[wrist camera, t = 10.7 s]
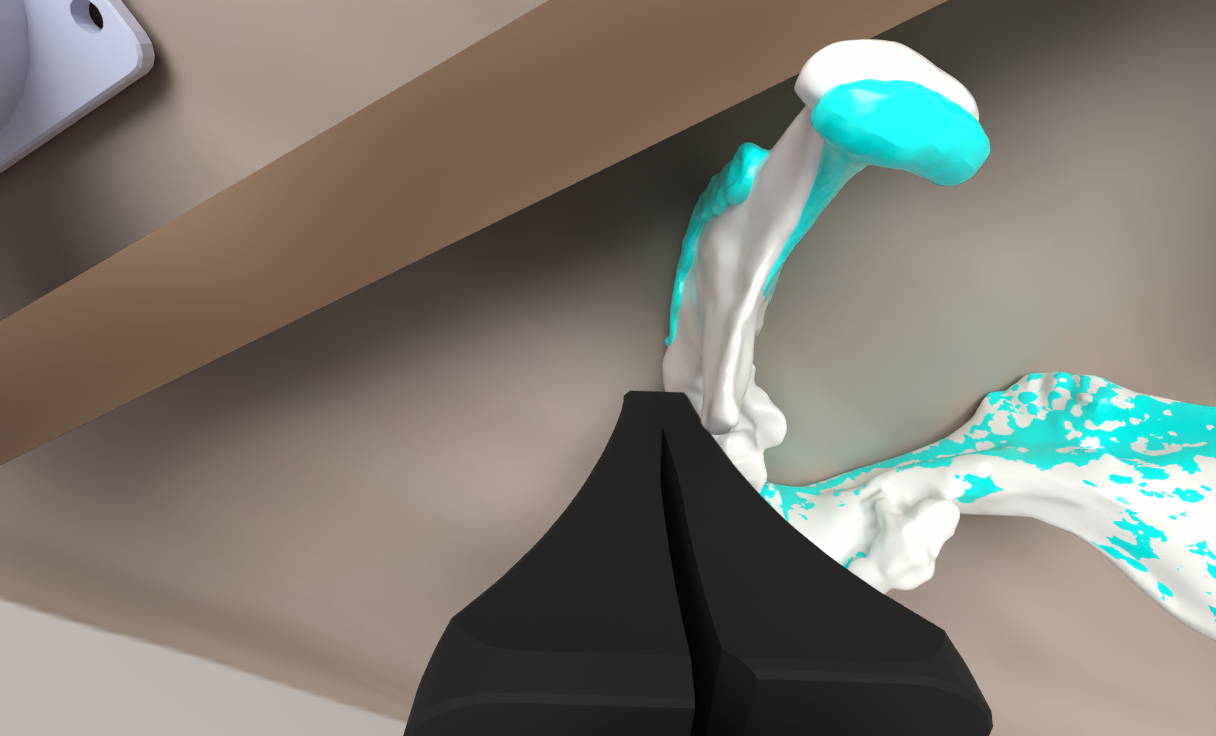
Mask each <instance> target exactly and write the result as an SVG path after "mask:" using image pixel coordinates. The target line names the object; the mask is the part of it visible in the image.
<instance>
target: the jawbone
mask: <svg viewBox="0 0 1216 736" xmlns="http://www.w3.org/2000/svg"><path fill="white" fill-rule="evenodd" d="M794 90H795V92H796V94H797V95H798V96H799V98H800V99H801V100H802V101H803V102H804V103H805V104H806V106H805V107H804V109H803V110H802V111H801V112H800V113H799V114H798V116H797V117H796V118H795V119H794V121H793V122H792V123H791V124H790V126H789V127H788V128H787V129H786V131H785V132H784V134H783V135H782V137H781V138H780V139H779V141H778V142H777V143H776V144H775V146H774V147H773V148H772V149H767V150H766V149H762V148H761V147H759V146H758V145H756V144H754V143H749V142H745V143H742V144H741V145H740V146H739V147H738V150H737V152H736V153H735V156H734V158H733V160H731V161H729V162H728V163H727V164H726V165H725V166H724V167H723V168H722V170H721V172H720V173H717V174H715V175H714V176H712V178H711V180H710V182H709V184H708V186H707V188H706V190H705V191H704V192H703V193H702V194H701V195H700V197H699V199H698V202H697V204H696V205H695V207H694V210H693V213H692V216H691V218H690V222H689V224H688V228H687V231H686V234H685V236H684V239H683V241H682V251H681V255H680V258H679V262H678V265H677V270H676V275H675V282H674V289H673V293H672V300H671V306H670V335H669V336H668V337H667V338H666V340H665V344H666V345H667V351H666V353H665V356H664V359H663V366H662V369H663V381H664V388H665V392H684V393H685V394H686V395H687V397H688V398H689V400H690V401H691V403H692V405H693V407H694V408H695V410H696V412H697V413H698V415H699V416H700V418H701V424H702V426H703V427H704V428H705V429H706V430H707V431H708V432H709V433H711V435H712V436H713V437H714V439H715V440H716V442H717V443H718V444H719V446H720V447H721V448H722V449H723V451H724V452H725V453H726V455H727V456H728V457H729V459H730V460H731V461H732V463H733V464H734V465H735V466H736V467H737V469H738V470H739V471H740V472H741V473H742V475H743V476H744V477H745V478H746V479H747V480H748V482H749V483H750V484H751V485H752V486H753V487H754V488H755V489H756V491H757V492H758V493H759V494H760V495H761V496H762V497H763V498H764V499H765V500H766V501H767V502H768V503H769V504H770V505H771V506H772V507H773V508H774V509H775V510H776V511H777V512H778V513H779V514H780V515H781V516H782V517H783V518H784V519H785V520H786V521H788V522H789V523H790V524H791V525H792V526H793V527H794V528H795V529H797V530H798V531H799V532H800V533H801V534H803V535H804V536H805V537H806V538H808V539H809V540H810V541H811V542H813V543H814V544H815V545H816V546H817V547H819V548H820V549H821V550H822V551H824V552H825V553H826V554H827V555H829V556H830V557H831V558H833V559H834V560H835V561H837V562H838V563H839V564H841V565H842V566H843V567H845V568H846V569H848V570H849V571H851V572H852V573H853V574H855V575H856V576H858V577H859V578H861V579H862V580H864V581H865V582H867V583H868V584H869V585H871V586H872V587H874V588H875V589H877V590H878V591H880V592H881V593H883V594H885V593H887V592H888V591H889V590H891V589H897V590H906V591H908V590H912V589H915V588H917V587H918V586H920V585H921V584H923V583H924V582H926V581H928V580H929V579H931V577H932V576H933V574H934V570H935V560H936V558H937V556H938V554H939V552H940V549H941V548H942V546H943V544H944V543H945V542H946V541H947V540H948V539H949V538H950V537H951V536H952V535H954V533H955V528H956V527H957V525H958V522H959V518H960V514H977V515H1001V516H1024V517H1030V518H1034V519H1037V520H1040V521H1043V522H1045V523H1047V524H1050V525H1053V526H1055V527H1058V528H1060V529H1063V530H1066V531H1068V532H1070V533H1072V534H1074V535H1076V536H1077V537H1079V538H1080V539H1082V540H1083V541H1085V542H1086V543H1088V544H1089V545H1091V546H1092V547H1093V548H1095V549H1096V550H1097V551H1098V552H1100V553H1101V554H1102V555H1104V556H1105V557H1106V558H1107V559H1109V560H1110V561H1111V562H1112V563H1113V564H1114V565H1115V566H1116V567H1117V568H1118V569H1119V570H1120V571H1121V572H1122V573H1123V574H1124V575H1125V576H1126V577H1127V578H1129V579H1130V580H1131V581H1132V582H1133V583H1134V584H1135V585H1136V586H1138V587H1139V588H1140V589H1141V590H1142V591H1143V592H1145V593H1146V594H1147V595H1148V596H1149V597H1150V598H1151V599H1152V600H1153V601H1154V602H1156V603H1157V604H1158V605H1159V606H1160V607H1161V608H1163V609H1164V610H1165V611H1166V612H1168V613H1169V614H1170V615H1171V616H1173V617H1174V618H1176V619H1177V620H1179V621H1180V622H1182V623H1184V624H1185V625H1187V626H1188V627H1190V628H1192V629H1193V630H1195V631H1197V632H1199V633H1200V634H1202V635H1204V636H1206V637H1208V638H1210V639H1212V640H1215V641H1216V407H1212V406H1203V405H1197V404H1192V403H1186V402H1181V401H1176V400H1171V399H1166V398H1161V397H1157V396H1152V395H1147V394H1142V393H1138V392H1135V391H1132V390H1129V389H1126V388H1123V387H1121V386H1119V385H1117V384H1115V383H1112V382H1110V381H1108V380H1106V379H1103V378H1101V377H1098V376H1093V375H1075V374H1069V373H1066V372H1060V371H1059V372H1050V373H1030V374H1027V375H1025V376H1023V377H1022V378H1021V379H1020V380H1019V381H1018V382H1017V383H1015V384H1014V385H1012V386H1011V387H1009V388H1008V389H1007V390H1005V391H999V392H990V393H989V394H987V396H986V397H985V398H984V399H983V400H982V402H981V404H980V406H979V407H978V409H977V410H976V412H975V414H974V416H973V417H972V418H971V419H970V420H969V421H968V422H966V423H965V424H964V425H963V426H961V427H960V428H959V429H957V430H956V431H954V432H953V433H952V434H950V435H949V436H947V437H945V438H943V439H941V440H939V441H936V442H934V443H932V444H929V445H927V446H924V447H921V448H918V449H916V450H914V451H911V452H908V453H905V454H902V455H900V456H897V457H894V458H891V459H887V460H884V461H881V462H878V463H874V464H871V465H868V466H865V467H861V468H858V469H854V470H852V471H849V472H846V473H843V474H841V475H838V476H835V477H833V478H830V479H827V480H824V481H821V482H817V483H813V484H810V485H806V486H800V487H796V486H786V485H780V484H775V483H772V482H769V481H768V480H767V471H766V467H765V462H764V450H765V449H767V448H771V447H776V446H778V445H780V444H781V442H782V441H783V439H784V437H785V433H786V430H787V424H786V420H785V417H784V415H783V413H782V412H781V411H780V410H779V409H778V408H777V407H776V406H775V405H774V404H773V403H772V402H771V400H770V398H769V397H768V395H767V394H766V393H765V391H764V390H762V389H761V388H760V387H758V386H757V385H756V384H755V381H754V379H755V371H756V367H755V365H754V364H753V355H754V341H755V336H757V335H758V334H759V333H760V332H761V329H762V326H763V323H764V316H765V312H766V308H767V306H768V305H769V303H770V302H771V298H772V295H773V293H774V290H775V288H776V285H777V281H778V279H779V276H780V272H781V269H782V267H783V264H784V262H785V260H786V259H787V257H788V256H789V255H790V253H791V252H792V250H793V249H794V248H795V246H796V245H797V244H798V243H799V242H800V240H801V239H802V238H803V236H804V235H805V234H806V233H807V232H808V230H809V229H810V228H811V227H812V225H813V224H814V223H815V222H816V220H817V218H818V217H819V216H820V214H821V213H822V212H823V211H824V209H825V208H826V207H827V206H828V204H829V203H830V202H831V201H832V199H833V198H834V197H835V196H836V195H837V193H838V192H839V191H840V190H841V189H842V187H843V186H844V185H845V184H846V183H847V182H848V181H849V180H850V179H851V178H852V177H853V176H854V175H855V174H857V173H858V172H859V171H861V170H862V169H864V168H865V167H867V166H869V165H874V166H878V167H883V168H889V169H898V170H903V171H907V172H910V173H912V174H914V175H916V176H919V177H922V178H925V179H928V180H929V181H931V182H933V183H934V184H938V185H945V186H957V185H959V184H961V183H963V182H966V181H967V180H969V179H970V178H971V177H973V176H974V175H975V174H976V172H977V171H978V170H979V169H980V167H981V166H982V165H983V163H984V162H985V161H986V159H987V157H988V155H989V153H990V151H991V150H990V143H989V139H988V137H987V135H986V134H985V132H984V130H983V128H982V126H981V125H980V123H979V112H978V107H977V105H976V102H975V99H974V98H973V96H972V95H971V94H970V92H969V91H968V90H967V89H966V88H965V87H964V86H963V85H962V84H961V83H960V82H959V81H958V80H956V79H955V78H954V77H952V76H951V75H949V74H947V73H946V72H944V71H943V70H941V69H940V68H938V67H936V66H935V65H934V64H933V63H931V62H930V61H929V60H928V59H926V58H925V57H923V56H922V55H921V54H919V53H917V52H916V51H914V50H912V49H910V48H909V47H907V46H905V45H903V44H901V43H897V42H893V41H886V40H874V39H860V40H847V41H840V42H836V43H833V44H830V45H828V46H826V47H825V48H823V49H821V50H820V51H818V52H817V53H815V54H814V55H813V56H812V57H811V58H810V59H809V60H808V61H807V62H806V63H805V64H804V66H803V67H802V69H801V71H800V74H799V76H798V78H797V81H796V83H795V87H794Z"/></svg>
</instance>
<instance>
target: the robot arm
mask: <svg viewBox="0 0 1216 736" xmlns="http://www.w3.org/2000/svg"><path fill="white" fill-rule="evenodd" d="M91 2H92V3H93V4H94V5H95V6H96V7H97V8H98V10H99V11H100V13H101V15H102V17H103V28H102V30H101V29H100V28H99V27H98V26H96V25H95V24H94V22H93V20H92V18H91V17H90V15H89V4H90V3H91ZM154 58H155V54H154V50H153V46H152V43H151V41H150V39H149V37H148V36H147V34H146V32H145V31H144V29H143V28H142V27H141V26H140V24H139V23H138V22H137V20H136V19H135V18H134V16H133V15H132V14H131V12H130V11H129V10H128V9H127V7H126V6H125V5H124V3H123V2H122V1H121V0H0V173H2V172H3V171H5V170H6V169H8V168H9V167H11V166H12V165H14V164H15V163H16V162H18V161H19V160H21V159H22V158H24V157H25V156H27V155H28V154H30V153H31V152H33V151H34V150H36V149H37V148H38V147H40V146H41V145H43V144H44V143H46V142H47V141H49V140H50V139H52V138H53V137H55V136H56V135H58V134H59V133H60V132H62V131H63V130H65V129H66V128H68V127H69V126H71V125H72V124H74V123H75V122H77V121H78V120H80V119H81V118H82V117H84V116H85V115H87V114H88V113H90V112H91V111H93V110H94V109H96V108H97V107H99V106H100V105H102V104H103V103H104V102H106V101H107V100H109V99H110V98H112V97H113V96H115V95H116V94H118V93H119V92H121V91H122V90H124V89H125V88H126V87H128V86H129V85H131V84H132V83H134V82H135V81H137V80H138V79H140V78H141V77H143V76H144V75H146V74H147V73H148V72H149V71H150V69H151V68H152V67H153V65H154ZM992 728H993V722H992V713H991V710H990V708H989V706H988V704H987V702H986V700H985V698H984V696H983V695H982V693H981V691H980V689H979V687H978V685H977V683H976V681H975V679H974V678H973V676H972V674H971V672H970V670H969V669H968V667H967V665H966V663H965V662H964V660H963V659H962V657H961V656H960V654H959V653H958V651H957V650H956V648H955V647H954V645H953V644H952V642H951V640H950V639H949V637H948V636H947V634H946V632H945V631H944V630H943V629H941V628H939V627H938V626H936V625H934V624H933V623H931V622H929V621H928V620H926V619H924V618H923V617H921V616H919V615H918V614H916V613H914V612H913V611H911V610H909V609H908V608H906V607H904V606H903V605H901V604H899V603H898V602H896V601H894V600H893V599H891V598H889V597H888V596H886V595H884V594H883V593H881V592H880V591H878V590H877V589H875V588H874V587H872V586H871V585H869V584H868V583H867V582H865V581H864V580H862V579H861V578H859V577H858V576H856V575H855V574H853V573H852V572H851V571H849V570H848V569H846V568H845V567H843V566H842V565H841V564H839V563H838V562H837V561H835V560H834V559H833V558H831V557H830V556H829V555H827V554H826V553H825V552H824V551H822V550H821V549H820V548H819V547H817V546H816V545H815V544H814V543H813V542H811V541H810V540H809V539H808V538H806V537H805V536H804V535H803V534H801V533H800V532H799V531H798V530H797V529H795V528H794V527H793V526H792V525H791V524H790V523H789V522H788V521H786V520H785V519H784V518H783V517H782V516H781V515H780V514H779V513H778V512H777V511H776V510H775V509H774V508H773V507H772V506H771V505H770V504H769V503H768V502H767V501H766V500H765V499H764V498H763V497H762V496H761V495H760V494H759V493H758V492H757V491H756V489H755V488H754V487H753V486H752V485H751V484H750V483H749V482H748V480H747V479H746V478H745V477H744V476H743V475H742V473H741V472H740V471H739V470H738V469H737V467H736V466H735V465H734V464H733V463H732V461H731V460H730V459H729V457H728V456H727V455H726V453H725V452H724V451H723V449H722V448H721V447H720V446H719V444H718V443H717V442H716V440H715V439H714V437H713V436H712V435H711V433H709V432H708V431H707V430H706V429H705V428H704V427H703V426H702V424H701V418H700V416H699V415H698V413H697V412H696V410H695V408H694V407H693V405H692V403H691V401H690V400H689V398H688V397H687V395H686V394H685V393H684V392H651V391H629V392H628V393H627V394H625V395H624V402H623V406H622V410H621V413H620V416H619V419H618V421H617V424H616V426H615V429H614V431H613V433H612V435H611V437H610V439H609V441H608V444H607V446H606V448H605V450H604V452H603V453H602V455H601V457H600V459H599V460H598V462H597V464H596V465H595V467H594V469H593V471H592V472H591V474H590V476H589V477H588V479H587V480H586V482H585V483H584V485H583V486H582V488H581V489H580V491H579V492H578V494H577V495H576V496H575V498H574V499H573V501H572V502H571V503H570V505H569V506H568V507H567V509H566V510H565V511H564V512H563V514H562V515H561V516H560V517H559V518H558V520H557V521H556V522H555V523H554V524H553V525H552V527H551V528H550V529H549V530H548V531H547V533H546V534H545V535H544V536H543V537H542V538H541V539H540V540H539V541H538V542H537V543H536V545H535V546H534V547H533V548H532V549H531V550H530V551H529V552H527V553H526V554H525V555H524V556H523V557H522V558H521V559H520V560H519V561H518V562H517V563H516V564H515V565H514V566H513V567H512V568H511V569H510V570H509V571H508V572H507V573H506V574H505V575H504V576H503V577H501V578H500V579H499V580H498V581H497V582H496V583H495V584H493V585H492V586H491V587H490V588H489V589H487V590H486V591H485V592H484V593H482V594H481V595H480V596H479V597H477V598H476V599H475V600H474V601H472V602H471V603H470V604H469V605H467V606H466V607H465V608H464V609H463V610H461V611H460V612H459V613H457V614H456V615H455V616H454V617H452V619H451V620H450V622H449V624H448V626H447V627H446V629H445V631H444V633H443V635H442V637H441V639H440V640H439V642H438V644H437V646H436V648H435V650H434V652H433V655H432V657H431V659H430V661H429V663H428V665H427V668H426V670H425V672H424V675H423V677H422V679H421V682H420V684H419V687H418V690H417V693H416V696H415V699H414V702H413V706H412V709H411V712H410V716H409V719H408V722H407V725H406V729H405V732H404V735H403V736H989V735H990V732H991V730H992Z"/></svg>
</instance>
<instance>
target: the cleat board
mask: <svg viewBox="0 0 1216 736" xmlns="http://www.w3.org/2000/svg"><path fill="white" fill-rule="evenodd" d="M946 1H948V0H548V1H547V2H545V3H543V4H542V5H540V6H538V7H536V8H535V9H533V10H531V11H530V12H528V13H526V14H525V15H523V16H521V17H519V18H518V19H516V20H514V21H513V22H511V23H509V24H507V25H506V26H504V27H502V28H501V29H499V30H497V31H495V32H494V33H492V34H490V35H489V36H487V37H485V38H483V39H482V40H480V41H478V42H477V43H475V44H473V45H472V46H470V47H468V48H466V49H465V50H463V51H461V52H460V53H458V54H456V55H454V56H453V57H451V58H449V59H448V60H446V61H444V62H442V63H441V64H439V65H437V66H436V67H434V68H432V69H430V70H429V71H427V72H425V73H424V74H422V75H420V76H419V77H417V78H415V79H413V80H412V81H410V82H408V83H407V84H405V85H403V86H401V87H400V88H398V89H396V90H395V91H393V92H391V93H389V94H388V95H386V96H384V97H383V98H381V99H379V100H377V101H376V102H374V103H372V104H371V105H369V106H367V107H366V108H364V109H362V110H360V111H359V112H357V113H355V114H354V115H352V116H350V117H348V118H347V119H345V120H343V121H342V122H340V123H338V124H336V125H335V126H333V127H331V128H330V129H328V130H326V131H324V132H323V133H321V134H319V135H318V136H316V137H314V138H313V139H311V140H309V141H307V142H306V143H304V144H302V145H301V146H299V147H297V148H295V149H294V150H292V151H290V152H289V153H287V154H285V155H283V156H282V157H280V158H278V159H277V160H275V161H273V162H271V163H270V164H268V165H266V166H265V167H263V168H261V169H260V170H258V171H256V172H254V173H253V174H251V175H249V176H248V177H246V178H244V179H242V180H241V181H239V182H237V183H236V184H234V185H232V186H230V187H229V188H227V189H225V190H224V191H222V192H220V193H218V194H217V195H215V196H213V197H212V198H210V199H208V200H207V201H205V202H203V203H201V204H200V205H198V206H196V207H195V208H193V209H191V210H189V211H188V212H186V213H184V214H183V215H181V216H179V217H177V218H176V219H174V220H172V221H171V222H169V223H167V224H166V225H164V226H162V227H160V228H159V229H157V230H155V231H154V232H152V233H150V234H148V235H147V236H145V237H143V238H142V239H140V240H138V241H136V242H135V243H133V244H131V245H130V246H128V247H126V248H124V249H123V250H121V251H119V252H118V253H116V254H114V255H113V256H111V257H109V258H107V259H106V260H104V261H102V262H101V263H99V264H97V265H95V266H94V267H92V268H90V269H89V270H87V271H85V272H83V273H82V274H80V275H78V276H77V277H75V278H73V279H71V280H70V281H68V282H66V283H65V284H63V285H61V286H60V287H58V288H56V289H54V290H53V291H51V292H49V293H48V294H46V295H44V296H42V297H41V298H39V299H37V300H36V301H34V302H32V303H30V304H29V305H27V306H25V307H24V308H22V309H20V310H18V311H17V312H15V313H13V314H12V315H10V316H8V317H7V318H5V319H3V320H1V321H0V465H2V464H4V463H6V462H8V461H10V460H12V459H14V458H16V457H18V456H20V455H22V454H24V453H26V452H28V451H30V450H32V449H34V448H36V447H38V446H40V445H42V444H44V443H47V442H49V441H51V440H53V439H55V438H57V437H59V436H61V435H63V434H65V433H67V432H69V431H71V430H73V429H75V428H77V427H79V426H81V425H83V424H85V423H87V422H89V421H91V420H93V419H95V418H97V417H100V416H102V415H104V414H106V413H108V412H110V411H112V410H114V409H116V408H118V407H120V406H122V405H124V404H126V403H128V402H130V401H132V400H134V399H136V398H138V397H140V396H142V395H144V394H146V393H148V392H151V391H153V390H155V389H157V388H159V387H161V386H163V385H165V384H167V383H169V382H171V381H173V380H175V379H177V378H179V377H181V376H183V375H185V374H187V373H189V372H191V371H193V370H195V369H197V368H199V367H201V366H204V365H206V364H208V363H210V362H212V361H214V360H216V359H218V358H220V357H222V356H224V355H226V354H228V353H230V352H232V351H234V350H236V349H238V348H240V347H242V346H244V345H246V344H248V343H250V342H252V341H255V340H257V339H259V338H261V337H263V336H265V335H267V334H269V333H271V332H273V331H275V330H277V329H279V328H281V327H283V326H285V325H287V324H289V323H291V322H293V321H295V320H297V319H299V318H301V317H303V316H305V315H308V314H310V313H312V312H314V311H316V310H318V309H320V308H322V307H324V306H326V305H328V304H330V303H332V302H334V301H336V300H338V299H340V298H342V297H344V296H346V295H348V294H350V293H352V292H354V291H356V290H358V289H361V288H363V287H365V286H367V285H369V284H371V283H373V282H375V281H377V280H379V279H381V278H383V277H385V276H387V275H389V274H391V273H393V272H395V271H397V270H399V269H401V268H403V267H405V266H407V265H409V264H412V263H414V262H416V261H418V260H420V259H422V258H424V257H426V256H428V255H430V254H432V253H434V252H436V251H438V250H440V249H442V248H444V247H446V246H448V245H450V244H452V243H454V242H456V241H458V240H460V239H462V238H465V237H467V236H469V235H471V234H473V233H475V232H477V231H479V230H481V229H483V228H485V227H487V226H489V225H491V224H493V223H495V222H497V221H499V220H501V219H503V218H505V217H507V216H509V215H511V214H513V213H516V212H518V211H520V210H522V209H524V208H526V207H528V206H530V205H532V204H534V203H536V202H538V201H540V200H542V199H544V198H546V197H548V196H550V195H552V194H554V193H556V192H558V191H560V190H562V189H564V188H566V187H569V186H571V185H573V184H575V183H577V182H579V181H581V180H583V179H585V178H587V177H589V176H591V175H593V174H595V173H597V172H599V171H601V170H603V169H605V168H607V167H609V166H611V165H613V164H615V163H617V162H619V161H622V160H624V159H626V158H628V157H630V156H632V155H634V154H636V153H638V152H640V151H642V150H644V149H646V148H648V147H650V146H652V145H654V144H656V143H658V142H660V141H662V140H664V139H666V138H668V137H670V136H673V135H675V134H677V133H679V132H681V131H683V130H685V129H687V128H689V127H691V126H693V125H695V124H697V123H699V122H701V121H703V120H705V119H707V118H709V117H711V116H713V115H715V114H717V113H719V112H721V111H723V110H726V109H728V108H730V107H732V106H734V105H736V104H738V103H740V102H742V101H744V100H746V99H748V98H750V97H752V96H754V95H756V94H758V93H760V92H762V91H764V90H766V89H768V88H770V87H772V86H774V85H777V84H779V83H781V82H783V81H785V80H787V79H789V78H791V77H793V76H795V75H797V74H799V73H800V71H801V69H802V67H803V66H804V64H805V63H806V62H807V61H808V60H809V59H810V58H811V57H812V56H813V55H814V54H815V53H817V52H818V51H820V50H821V49H823V48H825V47H826V46H828V45H830V44H833V43H836V42H840V41H847V40H860V39H870V38H872V37H874V36H876V35H878V34H880V33H883V32H885V31H887V30H889V29H891V28H893V27H895V26H897V25H899V24H901V23H903V22H905V21H907V20H909V19H911V18H913V17H915V16H917V15H919V14H921V13H923V12H925V11H927V10H929V9H931V8H934V7H936V6H938V5H940V4H942V3H944V2H946Z"/></svg>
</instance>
